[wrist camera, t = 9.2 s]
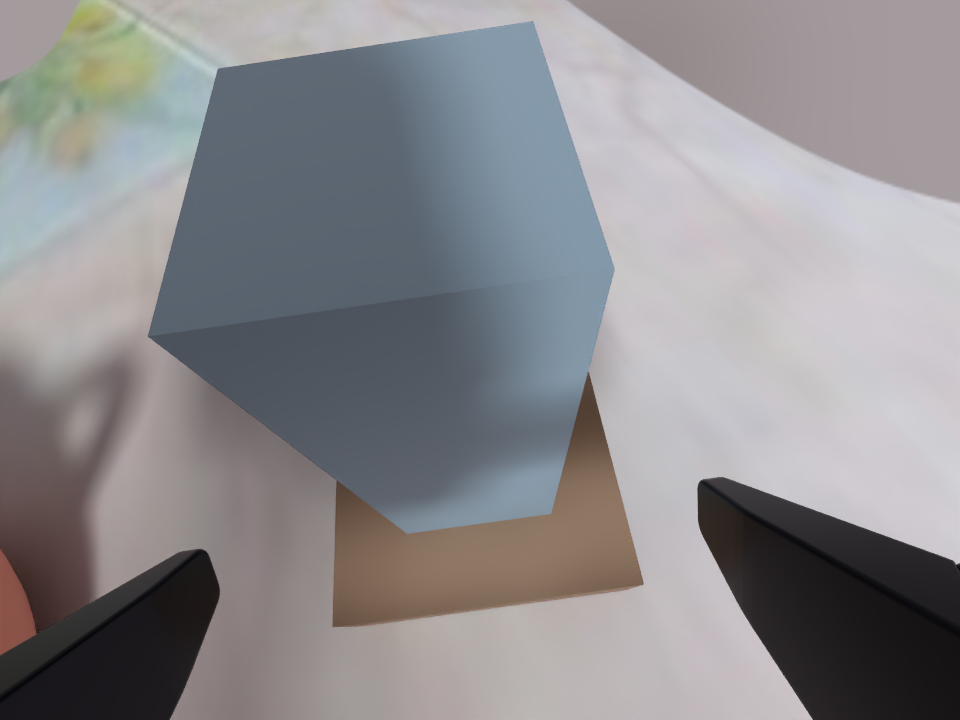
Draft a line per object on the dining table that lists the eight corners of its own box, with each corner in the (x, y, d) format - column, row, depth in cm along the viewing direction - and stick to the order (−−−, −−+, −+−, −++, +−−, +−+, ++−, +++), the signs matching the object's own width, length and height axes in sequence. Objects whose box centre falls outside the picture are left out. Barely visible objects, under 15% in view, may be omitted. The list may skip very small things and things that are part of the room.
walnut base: (626, 589, 18) (644, 584, 15) (360, 626, 18) (332, 626, 15) (569, 357, 23) (575, 322, 20) (361, 387, 23) (340, 356, 20)
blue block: (551, 513, 16) (614, 268, 5) (407, 533, 16) (147, 336, 5) (526, 384, 19) (532, 21, 7) (401, 401, 19) (217, 68, 8)
